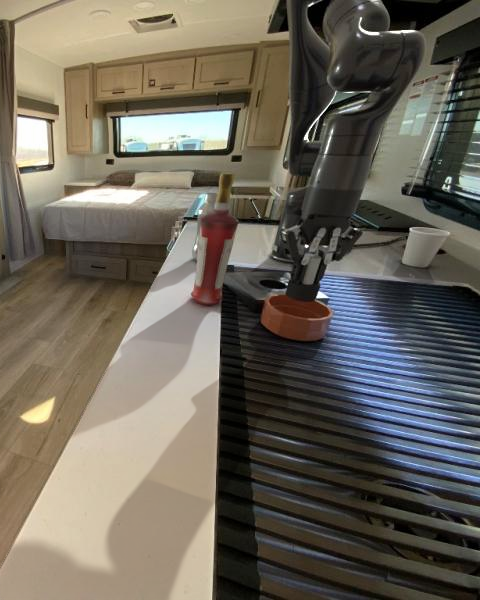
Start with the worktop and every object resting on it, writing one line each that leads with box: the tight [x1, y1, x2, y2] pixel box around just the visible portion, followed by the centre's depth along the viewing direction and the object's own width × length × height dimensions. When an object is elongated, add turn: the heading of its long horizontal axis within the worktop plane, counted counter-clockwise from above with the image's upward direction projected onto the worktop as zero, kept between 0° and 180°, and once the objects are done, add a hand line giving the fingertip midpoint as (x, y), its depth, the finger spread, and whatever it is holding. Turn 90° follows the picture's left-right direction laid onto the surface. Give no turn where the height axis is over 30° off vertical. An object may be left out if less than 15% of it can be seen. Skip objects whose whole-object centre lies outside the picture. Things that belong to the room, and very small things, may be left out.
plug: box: [285, 254, 322, 302], centre depth 61 cm, size 5×5×8 cm
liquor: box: [190, 172, 239, 306], centre depth 71 cm, size 7×7×28 cm
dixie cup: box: [401, 226, 451, 268], centre depth 96 cm, size 8×8×10 cm
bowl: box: [259, 294, 335, 342], centre depth 65 cm, size 11×11×5 cm
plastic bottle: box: [191, 192, 218, 261], centre depth 98 cm, size 6×7×20 cm
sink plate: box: [223, 270, 330, 313], centre depth 79 cm, size 16×16×3 cm
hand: (305, 281), depth 62 cm, fingers closed on plug, 2 cm apart
